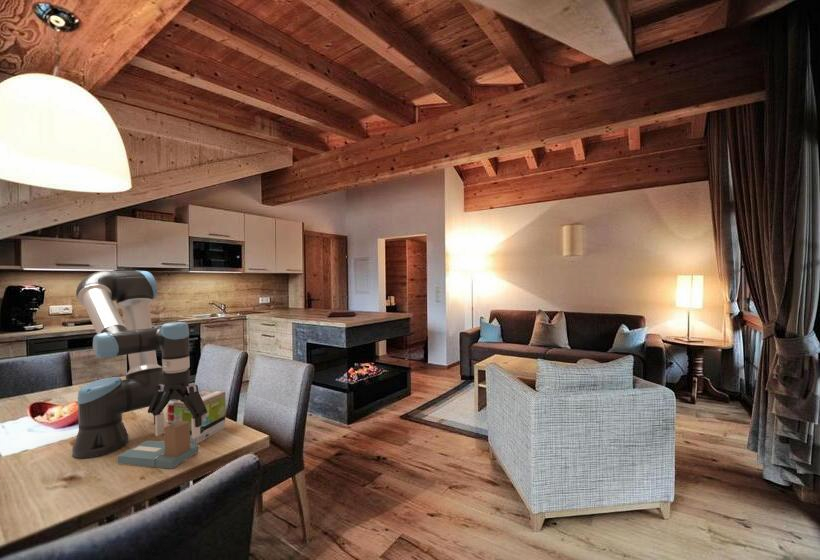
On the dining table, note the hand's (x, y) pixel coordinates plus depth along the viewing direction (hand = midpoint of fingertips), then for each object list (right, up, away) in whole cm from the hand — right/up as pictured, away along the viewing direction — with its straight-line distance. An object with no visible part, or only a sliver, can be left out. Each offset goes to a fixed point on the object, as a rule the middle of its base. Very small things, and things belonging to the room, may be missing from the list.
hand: (177, 435), depth 120 cm
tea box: (-3, -8, +19) cm, 21 cm away
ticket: (-10, -8, +2) cm, 13 cm away
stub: (0, -8, 0) cm, 8 cm away
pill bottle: (-21, -8, +32) cm, 39 cm away
